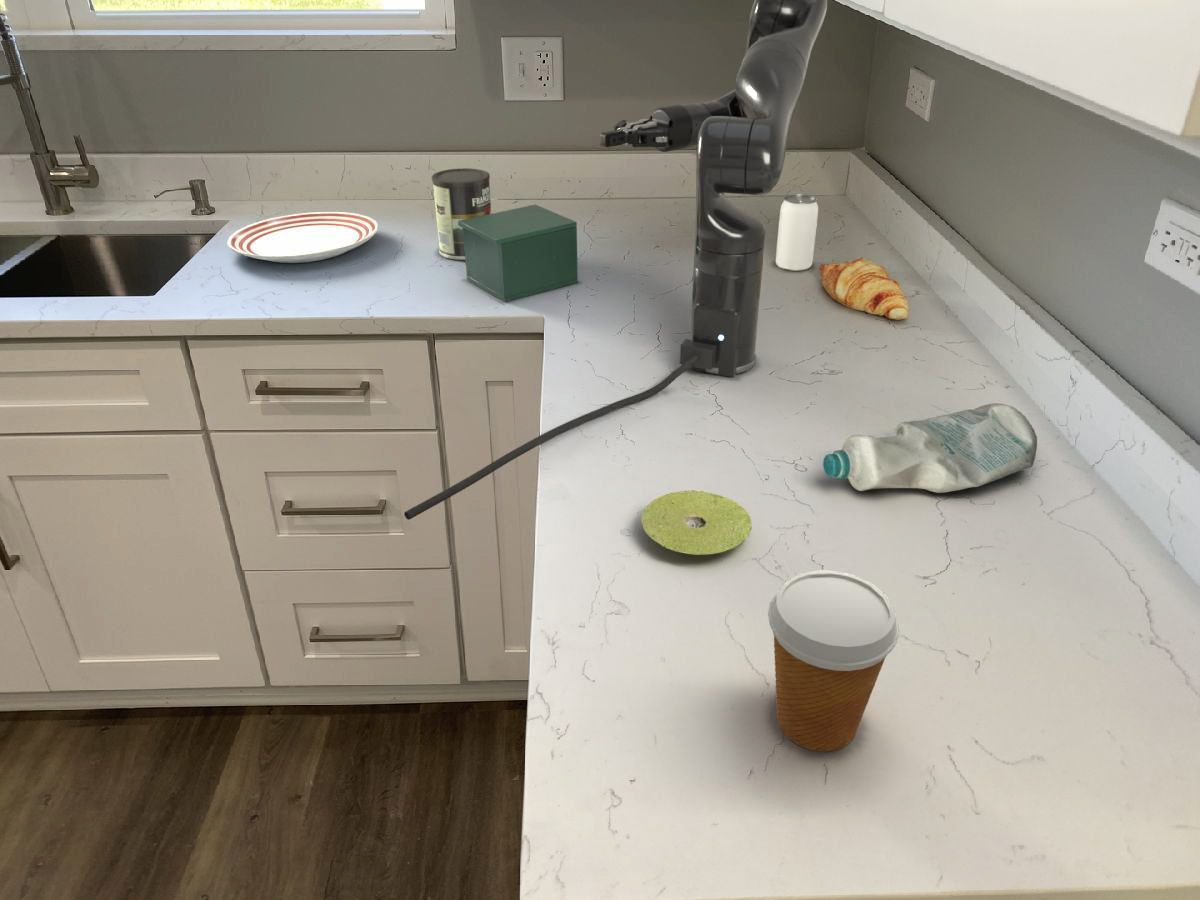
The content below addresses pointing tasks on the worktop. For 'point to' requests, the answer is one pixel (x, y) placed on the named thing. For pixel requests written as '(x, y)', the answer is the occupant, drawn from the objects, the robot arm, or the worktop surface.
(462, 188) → the coffee can
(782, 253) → the can
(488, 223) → the lid
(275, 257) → the dinner plate
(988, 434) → the crushed plastic bottle
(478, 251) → the caddy
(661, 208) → the worktop surface
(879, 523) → the worktop surface
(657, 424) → the worktop surface
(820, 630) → the disposable coffee cup
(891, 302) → the croissant
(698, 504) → the green disc
